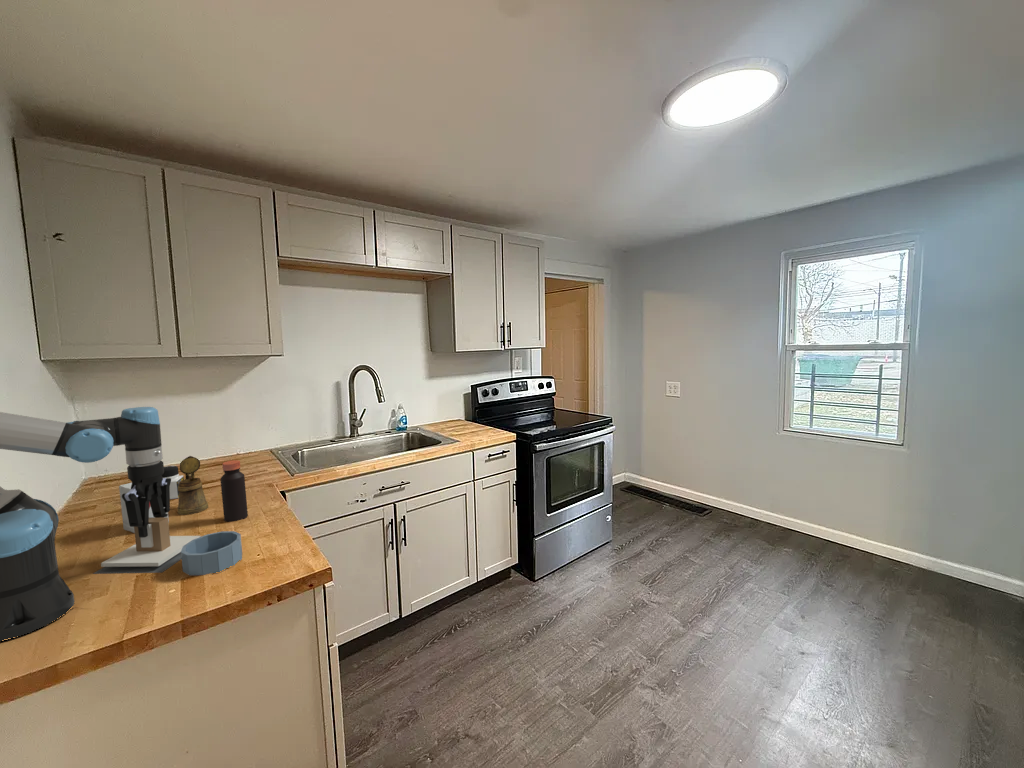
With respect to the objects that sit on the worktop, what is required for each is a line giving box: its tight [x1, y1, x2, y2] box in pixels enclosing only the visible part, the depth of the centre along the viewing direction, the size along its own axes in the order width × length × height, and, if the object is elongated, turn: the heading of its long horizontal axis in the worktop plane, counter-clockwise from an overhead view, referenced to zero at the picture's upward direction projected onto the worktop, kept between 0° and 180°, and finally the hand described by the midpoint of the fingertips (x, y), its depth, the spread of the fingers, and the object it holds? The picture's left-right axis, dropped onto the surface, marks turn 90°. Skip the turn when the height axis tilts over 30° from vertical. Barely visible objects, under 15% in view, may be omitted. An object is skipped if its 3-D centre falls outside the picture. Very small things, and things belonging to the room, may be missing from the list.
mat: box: [92, 552, 182, 575], centre depth 116 cm, size 18×18×1 cm
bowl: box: [181, 530, 243, 576], centre depth 112 cm, size 13×13×6 cm
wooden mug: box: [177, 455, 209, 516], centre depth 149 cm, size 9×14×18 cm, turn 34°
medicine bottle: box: [162, 465, 185, 500], centre depth 160 cm, size 7×7×12 cm
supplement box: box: [118, 482, 170, 534], centre depth 134 cm, size 9×9×15 cm
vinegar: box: [220, 459, 249, 523], centre depth 139 cm, size 7×7×20 cm
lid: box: [100, 517, 201, 568], centre depth 115 cm, size 15×15×10 cm
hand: (153, 543), depth 116 cm, fingers closed on lid, 3 cm apart
